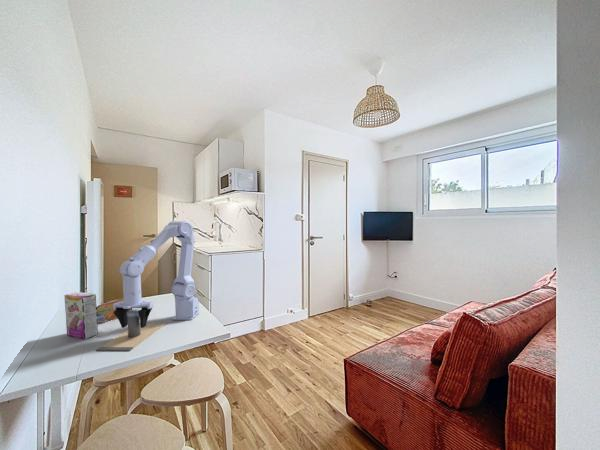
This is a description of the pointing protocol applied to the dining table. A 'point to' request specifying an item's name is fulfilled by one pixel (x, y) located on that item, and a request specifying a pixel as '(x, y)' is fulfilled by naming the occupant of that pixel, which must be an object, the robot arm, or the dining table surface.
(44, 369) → the dining table surface
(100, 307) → the tin
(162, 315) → the dining table surface
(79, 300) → the candy bar box
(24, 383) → the dining table surface
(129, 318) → the blue grey cylinder
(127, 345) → the notepad
